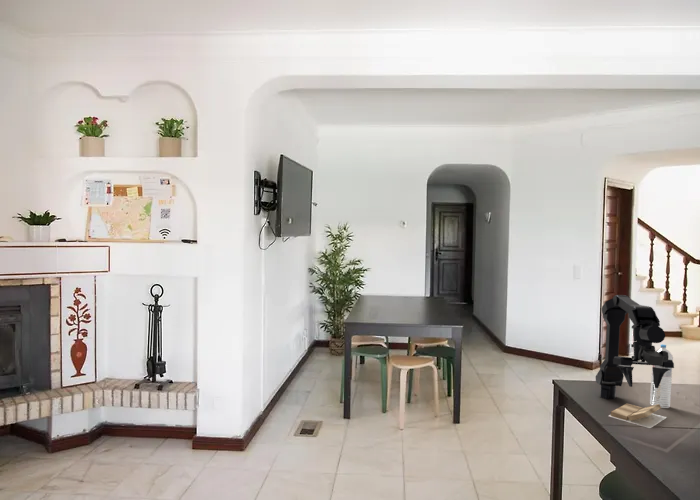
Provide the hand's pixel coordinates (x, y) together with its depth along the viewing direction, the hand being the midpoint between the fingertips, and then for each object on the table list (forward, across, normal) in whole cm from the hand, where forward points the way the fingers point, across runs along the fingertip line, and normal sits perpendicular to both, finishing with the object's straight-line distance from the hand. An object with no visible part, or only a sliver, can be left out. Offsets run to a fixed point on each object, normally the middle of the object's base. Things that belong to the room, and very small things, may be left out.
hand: (643, 387), depth 176 cm
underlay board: (+13, +4, +11) cm, 18 cm away
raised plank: (+10, +6, +9) cm, 15 cm away
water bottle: (+10, +21, +24) cm, 34 cm away
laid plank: (+11, +2, +14) cm, 18 cm away
